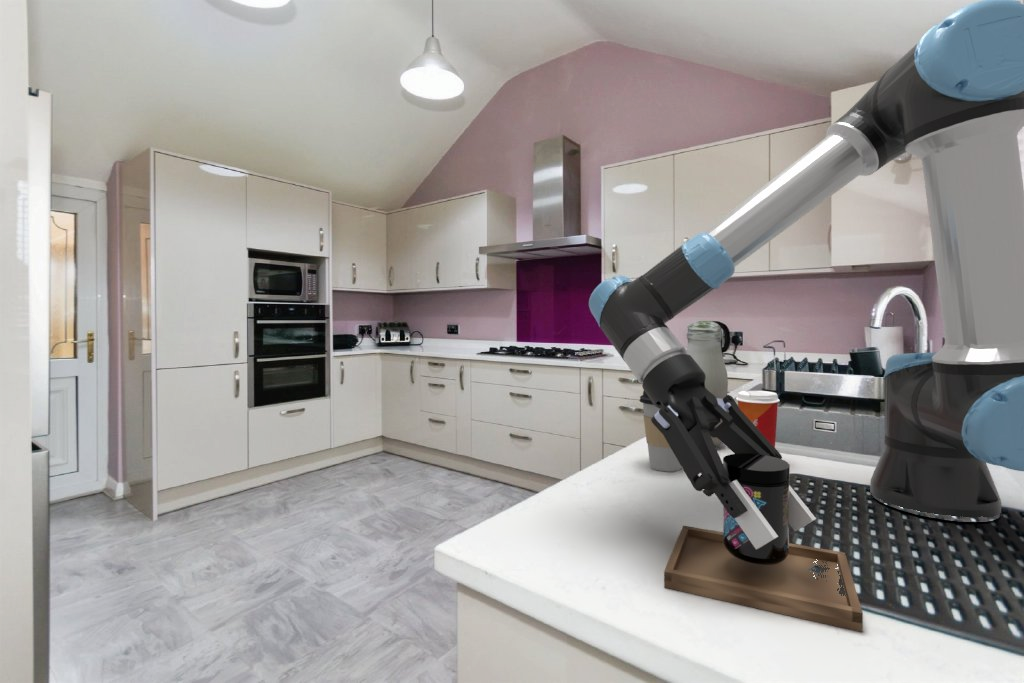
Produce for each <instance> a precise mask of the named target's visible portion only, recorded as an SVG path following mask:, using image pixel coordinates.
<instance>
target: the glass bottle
mask: <svg viewBox="0 0 1024 683" xmlns="http://www.w3.org/2000/svg"><path fill="white" fill-rule="evenodd" d="M721 327H722V326H721V325H719V324H718V323H717V322H715V321H713V320H712V321H711V320H709V321H707V320H700V321H695V322H692V323H690V324H689V325H688V326H687V331H686V332H687V333H686V339H687V346H686V350H687V355H690V356H691V357H692V358H693V359H694V360H695V362H696V363H697V364H698V365H699V367H700V368H701V369H702V370H703V372H704V373H705V375H706V379H705V388H706V389H707V390H708V391H709V392H711V393H712V394H713V395H714V396H715V397H716V398H719V399H723V398H724V397H725V396H726V395H728V389H729V388H728V386H729V385H728V384H729V382H728V381H729V379H728V372H727V368H726V364H725V360H724V356H723V352H722V343H721V341H722V338H723V337H722V336H723V335H722V330H721V329H722V328H721ZM721 422H722V420H721V419H720V422H719V423H718V424H717V425H716V426H715V427H717V426H718V425H719V424H720V423H721ZM711 438H712V440H713V443H714V445H715V447H716V446H718V445H720V444H721V443H723V442H722V441H720V440H719V439H718V438H717V437H711Z"/></svg>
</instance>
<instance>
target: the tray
mask: <svg viewBox="0 0 1024 683" xmlns="http://www.w3.org/2000/svg"><path fill="white" fill-rule="evenodd" d="M669 556H670V557H669V558H668V561H667V563H666V566H665V568H664V570H663V580H664V581H663V585H664V586H663V587H664V588H666V589H671V590H675V591H679V592H684V593H688V594H692V595H697V596H702V597H706V598H710V599H715V600H718V601H723V602H728V603H733V604H737V605H741V606H744V607H745V606H746V607H750V608H754V609H758V610H762V611H763V610H764V611H768V612H770V613H771V612H772V613H777V614H782V615H785V616H789V617H790V616H791V617H793V618H797V619H798V618H799V619H803V620H806V621H811V622H817V623H820V624H824V625H825V624H826V625H830V626H834V627H839V628H843V629H847V630H851V631H856V632H862V633H863V631H864V630H863V629H864V628H863V626H864V625H863V624H864V623H863V622H864V621H863V620H864V619H863V618H864V615H863V610H862V606H861V603H860V599H859V595H858V592H857V590H856V585H855V582H854V579H853V575H852V573H851V569H850V566H849V562H848V558H847V555H846V553H845V552H843V551H838V550H833V549H825V548H820V547H815V546H808V545H807V546H806V545H802V544H796V543H791V542H789V554H788V556H787V558H786V559H785V560H784V561H782V562H781V563H778V564H773V565H761V564H754V563H750V562H746V561H743V560H741V559H739V558H736V557H735V556H733V555H732V554H730V553H729V551H728V550H727V549H726V548H725V545H724V542H723V531H719V530H712V529H707V528H700V527H699V528H698V527H695V526H689V525H688V526H687V525H682V527H681V529H680V531H679V535H678V537H677V540H676V542H675V543H674V547H673V549H672V551H671V553H670V555H669ZM816 559H817V560H818V561H817V560H816ZM825 560H826V561H827V562H826V561H825ZM814 561H817V562H816V563H817V564H818V566H819V565H820V566H821V565H822V566H823V567H824V565H826V566H825V567H826V568H827V567H828V568H830V569H829V570H828V569H827V570H826V572H825V570H824V572H823V573H821V571H820V573H821V575H822V574H823V575H824V578H823V575H822V578H821V575H820V573H819V575H820V576H818V573H817V576H816V573H815V571H816V569H815V571H814V574H813V571H812V570H811V572H810V570H809V572H808V570H807V569H809V568H810V567H811V568H812V567H814V566H815V565H816V566H817V564H816V563H815V562H814ZM822 561H823V562H824V563H823V562H822ZM828 561H829V562H828ZM813 562H814V563H813ZM825 562H826V563H827V564H826V563H825ZM814 564H815V565H814ZM837 564H838V566H837ZM827 565H828V566H827ZM829 565H830V566H829ZM820 566H819V567H820ZM822 566H821V567H822ZM823 567H822V568H823ZM825 567H824V568H825ZM837 567H839V570H838V569H835V568H837ZM811 568H810V569H811ZM827 571H828V572H827ZM837 571H840V572H839V574H838V572H837ZM814 575H815V577H816V579H815V577H813V576H814ZM825 575H826V578H825ZM827 575H828V577H827ZM839 575H841V579H842V582H843V588H844V591H845V595H846V596H845V595H844V596H843V594H842V596H841V594H839V591H840V588H841V587H842V585H841V587H840V585H839V583H838V582H839V579H840V576H839ZM829 576H830V577H829ZM817 578H818V580H817ZM826 580H827V582H826ZM837 583H838V584H837ZM838 588H839V590H838V591H837V589H838Z"/></svg>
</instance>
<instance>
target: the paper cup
mask: <svg viewBox="0 0 1024 683" xmlns="http://www.w3.org/2000/svg"><path fill="white" fill-rule="evenodd" d="M735 401H737V405H738V407H739V408H740V410H741V411H742V412H743V413H744V414H745V415H746V416H747V418H748V419H749V420H750V421H751V422H752V423H753V424H754V425H755V426H756V428H757V429H758V430H759V431H760V432H761V433H762V434H763V435H764V436H765V437H766V439H767V440H768V441H769V442H770V443H771V444H772V445H773V446H774V447H775V448H776V438H777V437H776V436H777V420H778V419H777V418H778V408H779V405H778V404H779V402H780V399H779V396H778V394H777V392H774V391H767V390H741V391H739V392H738V393H737V396H736V398H735Z"/></svg>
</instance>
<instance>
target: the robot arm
mask: <svg viewBox="0 0 1024 683" xmlns="http://www.w3.org/2000/svg"><path fill="white" fill-rule="evenodd" d="M1023 128H1024V4H1022V2H1021V1H1019V0H979V1H975V2H972V3H970V4H967V5H964V6H963V7H961V8H959V9H957V10H954V12H952V13H950V14H949V15H948V16H946V17H945V18H944V19H943V20H942V21H941V22H939V23H937V24H935V25H934V26H932V27H931V28H929V30H927V31H926V32H925V33H924V34H923V35H922V37H921V38H920V39H919V40H918V42H917V43H916V44H915V45H914V46H913V47H912V48H910V49H909V50H908V52H906V53H905V54H904V55H903V56H902V57H901V58H900V59H899V60H897V62H895V63H894V64H893V65H892V66H891V67H889V68H888V69H887V70H886V71H885V72H884V73H883V74H882V75H881V76H880V77H879V79H877V81H876V82H875V83H874V84H873V85H872V86H871V87H870V88H869V89H868V90H867V91H866V93H864V95H862V97H861V98H860V99H858V101H857V102H856V103H855V104H853V106H851V107H850V108H849V110H848V111H846V113H844V114H843V115H842V116H841V117H839V118H838V119H837V120H836V121H834V122H833V123H831V125H829V126H828V128H827V130H826V132H825V137H824V138H823V139H821V141H820V142H818V143H817V144H816V145H814V146H813V147H812V148H811V149H809V150H807V151H806V153H804V154H802V155H801V156H800V157H799V158H798V159H796V160H795V161H794V162H792V163H791V164H790V165H788V166H787V167H786V168H785V169H783V170H781V171H780V173H778V174H777V175H775V176H774V177H773V178H772V179H771V180H769V181H767V183H765V184H764V185H763V186H761V187H760V188H759V189H758V190H756V191H755V192H754V193H752V194H751V195H750V196H748V197H747V198H746V199H744V200H743V201H742V202H741V203H739V204H738V205H737V206H736V207H734V208H732V210H730V211H729V212H728V213H726V214H724V216H723V217H721V218H720V219H719V220H717V221H716V222H715V223H714V224H712V225H711V226H710V227H708V228H707V229H706V230H704V231H703V232H701V233H698V234H696V235H695V236H694V237H692V238H691V239H689V240H688V241H685V242H683V243H682V244H681V245H680V246H679V247H677V248H676V249H675V250H674V251H672V252H671V253H670V254H668V255H667V256H666V257H664V258H663V259H662V260H660V261H659V262H658V263H657V264H655V265H654V266H653V267H652V268H650V269H649V270H648V271H646V272H645V273H644V274H642V275H640V276H639V277H637V278H635V279H633V280H632V279H630V278H628V276H625V275H615V276H613V277H612V278H610V279H609V278H607V279H604V280H603V281H602V282H600V283H599V284H598V285H597V286H596V287H595V288H594V289H593V291H592V293H591V294H590V295H589V296H590V297H589V300H588V307H589V310H590V313H591V315H592V316H593V317H594V319H595V322H597V324H598V327H599V328H600V330H602V332H603V333H604V335H605V336H606V338H607V340H608V341H609V342H610V343H611V345H612V346H613V347H614V349H615V350H616V352H617V353H618V354H619V356H620V357H621V359H622V360H623V362H624V363H625V364H626V365H627V366H628V368H629V369H630V371H631V372H632V375H633V376H634V377H635V379H636V380H637V381H638V383H640V384H642V390H643V391H645V392H646V394H647V395H648V396H649V398H650V399H651V401H652V402H653V404H654V405H655V406H656V407H657V408H660V410H659V411H658V412H657V413H656V414H655V415H654V416H653V417H652V418H651V421H652V423H653V424H654V425H655V426H656V427H657V428H658V430H659V431H660V432H661V433H662V434H663V435H664V437H665V439H666V441H667V442H668V444H669V446H670V448H671V449H672V451H673V453H674V454H675V456H676V458H677V460H678V461H679V463H680V465H681V469H683V472H684V474H685V476H686V477H687V479H688V480H689V482H690V483H691V485H692V487H693V488H694V490H696V491H697V492H702V493H703V495H705V496H707V497H712V496H713V495H715V496H716V497H717V499H718V500H719V501H720V504H721V505H722V507H723V506H724V507H725V509H726V510H727V512H728V513H729V515H730V516H731V517H732V518H735V520H736V521H737V523H738V524H739V526H740V527H741V529H742V530H743V531H744V533H745V534H746V536H747V537H748V539H749V540H750V541H751V543H752V544H753V546H754V547H755V549H758V548H760V547H762V546H764V545H765V544H767V543H769V542H770V541H772V540H773V539H775V538H777V537H778V535H777V534H776V533H775V531H774V530H773V529H772V527H771V526H770V524H769V523H768V522H767V520H766V519H765V518H764V516H763V515H762V513H761V512H760V511H759V509H758V508H757V507H756V505H755V504H754V503H753V501H752V500H751V498H750V497H749V496H748V494H747V493H746V492H745V490H744V489H743V488H742V486H741V485H740V483H739V482H738V481H737V480H735V481H732V482H731V483H730V484H729V483H728V482H729V477H728V474H727V472H726V470H725V468H724V465H723V460H722V458H721V457H720V454H719V452H718V450H717V447H716V446H715V445H714V443H713V440H712V438H711V437H717V438H718V439H719V440H720V441H722V443H723V445H725V447H727V448H728V449H729V450H730V451H731V452H732V454H740V453H748V454H760V455H767V456H772V457H776V458H779V459H782V460H783V457H782V456H783V455H782V454H781V453H780V452H779V450H778V449H776V446H775V447H774V446H773V445H772V444H771V443H770V442H769V441H768V440H767V439H766V437H765V436H764V435H763V434H762V433H761V432H760V431H759V430H758V429H757V428H756V426H755V425H754V424H753V423H752V422H751V421H750V420H749V419H748V418H747V416H746V415H745V414H744V413H743V412H742V411H741V410H740V408H739V407H738V402H737V401H736V399H734V397H733V396H732V395H730V394H727V395H726V396H725V397H724V398H723V399H719V398H716V397H715V396H714V395H713V394H712V393H711V392H709V391H708V390H707V389H706V388H705V379H706V375H705V373H704V372H703V370H702V369H701V368H700V367H699V365H698V364H697V363H696V362H695V360H694V359H693V358H692V357H691V356H690V355H687V348H686V347H685V346H684V345H683V344H682V342H681V341H680V340H679V338H678V337H676V335H675V334H674V333H673V331H672V330H670V328H669V326H667V325H666V323H667V322H669V321H671V320H672V319H674V318H675V317H676V316H677V315H679V314H680V313H681V312H683V311H685V310H687V309H688V308H689V307H691V306H692V305H694V304H695V303H697V302H698V301H700V300H701V299H702V298H704V297H705V296H706V295H708V294H710V293H711V292H713V291H714V290H717V289H718V288H719V287H720V286H721V285H722V284H723V283H724V282H726V281H727V280H729V279H730V278H732V277H733V275H734V274H735V269H736V267H737V266H739V265H740V264H741V263H742V262H743V261H745V260H747V259H748V258H749V257H751V255H753V254H754V253H756V252H758V251H759V250H760V249H761V248H763V247H764V246H766V245H767V244H769V242H771V241H773V239H775V238H777V236H779V235H780V234H782V233H783V232H784V231H786V230H788V229H789V228H790V227H792V225H794V224H795V223H797V222H798V221H799V220H801V219H802V218H803V217H805V216H806V215H808V214H809V213H810V212H812V211H813V210H814V209H815V208H817V207H818V206H820V205H821V204H822V203H824V202H825V201H826V200H828V199H829V198H831V197H832V196H833V195H834V194H836V193H837V192H839V191H840V190H841V189H843V188H844V187H846V186H847V185H848V184H849V183H851V182H853V181H854V180H855V179H856V178H857V177H859V176H864V177H865V176H866V177H867V176H871V175H873V174H875V173H876V172H877V171H879V170H880V169H881V168H882V167H884V166H886V165H887V164H889V163H890V162H891V161H894V160H895V159H897V158H899V157H901V156H902V155H903V154H906V153H908V154H910V155H913V156H915V157H916V158H918V159H920V160H921V164H922V171H923V172H922V173H923V179H924V180H923V181H924V188H925V194H926V203H927V204H926V205H927V209H928V210H927V211H928V218H929V219H928V220H929V227H930V235H931V242H932V243H931V244H932V250H933V257H934V258H933V260H934V266H935V273H936V282H937V289H938V297H939V298H938V299H939V305H940V312H941V321H942V328H943V337H944V344H943V346H942V347H941V348H940V349H939V350H938V351H937V352H915V353H914V352H911V353H898V354H892V355H891V356H889V357H888V359H887V360H886V363H885V370H884V374H883V381H884V445H883V451H882V452H881V455H880V458H879V459H878V462H877V464H876V467H875V469H874V470H873V472H872V476H871V478H870V482H869V485H870V487H869V489H870V490H869V491H870V492H871V493H872V494H873V495H874V496H876V497H877V498H879V499H881V500H883V501H886V502H888V503H891V504H894V505H897V506H900V507H903V508H907V509H913V510H917V511H920V512H927V513H934V514H942V515H951V516H959V517H960V516H961V517H962V516H963V517H981V516H983V517H994V516H996V515H998V514H1000V513H1001V514H1002V501H1001V500H1002V499H1001V496H1000V494H999V492H998V489H997V487H996V484H995V482H994V479H993V476H992V474H991V472H990V469H989V467H988V464H990V465H993V466H998V467H1003V468H1005V469H1007V470H1008V469H1010V470H1013V471H1017V472H1018V471H1019V472H1024V181H1023V172H1022V165H1021V164H1022V163H1021V156H1020V149H1019V140H1018V139H1019V138H1018V134H1019V133H1020V131H1022V129H1023ZM720 419H721V420H722V422H721V423H720V424H719V425H718V426H717V427H715V426H716V425H717V424H718V423H719V422H720ZM699 474H701V475H699ZM816 520H817V517H815V515H814V514H813V513H812V512H811V510H810V509H809V508H808V506H807V505H806V504H805V503H804V502H803V499H801V497H800V496H799V495H798V494H797V492H795V490H794V488H793V486H792V485H791V484H790V483H789V527H791V528H792V530H793V531H794V532H797V531H798V530H801V529H802V528H804V527H805V526H807V525H809V524H810V523H812V522H814V521H816Z"/></svg>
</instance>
